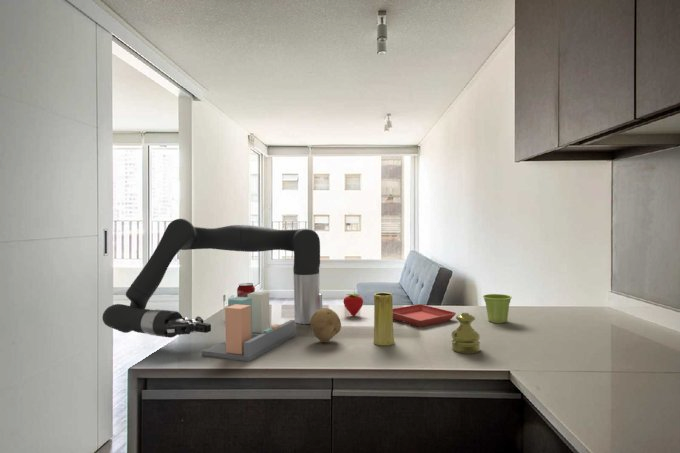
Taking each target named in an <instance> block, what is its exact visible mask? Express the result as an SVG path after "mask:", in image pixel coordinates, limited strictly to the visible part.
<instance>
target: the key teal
mask: <svg viewBox="0 0 680 453" xmlns="http://www.w3.org/2000/svg"><path fill="white" fill-rule="evenodd" d="M227 301H228V306H227V307H229V306H232V305H235V304H239V305H251V338H252V298H249V297H237V296H236V297H232V298H229V299H228V300H227Z"/></svg>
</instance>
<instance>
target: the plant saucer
mask: <svg viewBox="0 0 680 453" xmlns="http://www.w3.org/2000/svg"><path fill="white" fill-rule="evenodd" d="M456 315H457V313H456V312H454V311H451V310H447V309H442V308H438V307H433V306H431V305H430V306H429V305H426V304H421V303H420V304H418V303H417V304H413V305H407V306H401V307H395V308H394V307H393V320H396V321H399V322H402V323H405V324H408V325H409V324H410V325H412V326H416V327H420V328H421V327H425V326H430V325H434V324H435V325H436V324H440V323H445V322H448V321H450V320H452V319H453V318H454V317H455V316H456Z"/></svg>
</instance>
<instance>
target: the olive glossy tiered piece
mask: <svg viewBox="0 0 680 453" xmlns="http://www.w3.org/2000/svg"><path fill="white" fill-rule="evenodd" d="M455 319H456V321H458V322H459V324H460V325H459V326H458V327H457V328H456V329H454V330H453V331H452V332H451V338H452V340H451V349H452V350H453V351H455V352H457V353H460V354H468V355H469V354H470V355H471V354H477V353H479V352H480V350H481V342H480V341H479V340H481V335H480V333H479V332H478V331H477V330H475V328H473V326H471V324H472V322H474V321H475V320H476V316H474V315H472V314H470V313H469V312H461V313H460V314H458V315H457V314H456V315H455Z"/></svg>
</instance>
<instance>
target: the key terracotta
mask: <svg viewBox="0 0 680 453" xmlns="http://www.w3.org/2000/svg"><path fill="white" fill-rule="evenodd" d="M224 314H225V316H224V317H225V318H224V320H225V321H224V322H225V324H224V325H225V327H224V328H225V341H226V353H234V354H244V342H245V341H248V340H250V339H251V305H239V304H235V305H232V306H229V307H228V306H226V307H224Z"/></svg>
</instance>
